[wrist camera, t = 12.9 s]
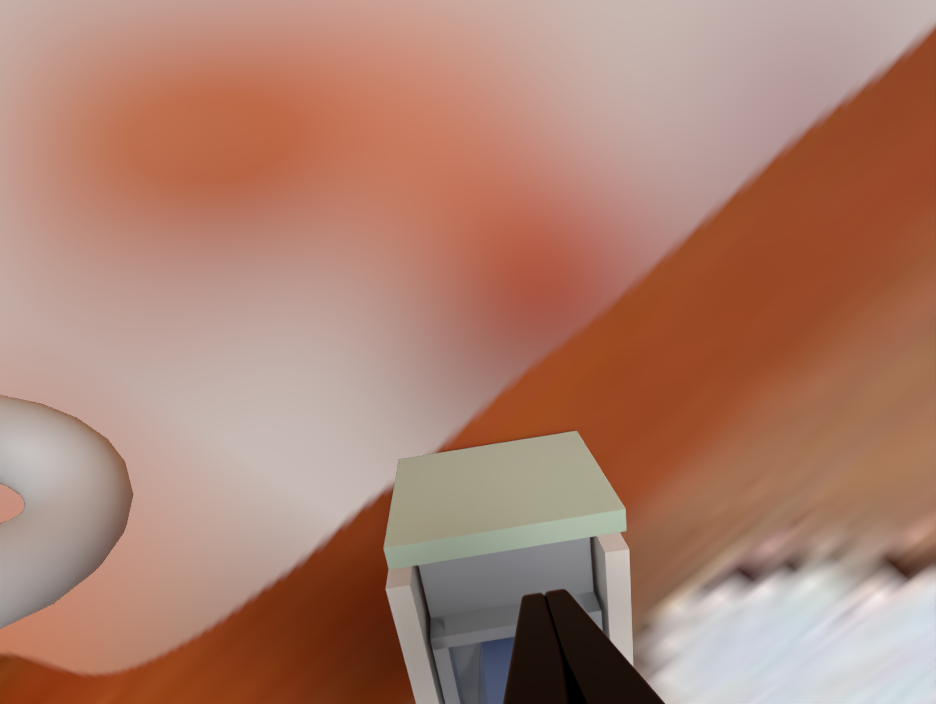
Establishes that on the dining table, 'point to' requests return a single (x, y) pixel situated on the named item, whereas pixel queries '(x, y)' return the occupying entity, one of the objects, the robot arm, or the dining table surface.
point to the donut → (55, 505)
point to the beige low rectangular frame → (415, 622)
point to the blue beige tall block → (494, 670)
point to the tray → (497, 539)
